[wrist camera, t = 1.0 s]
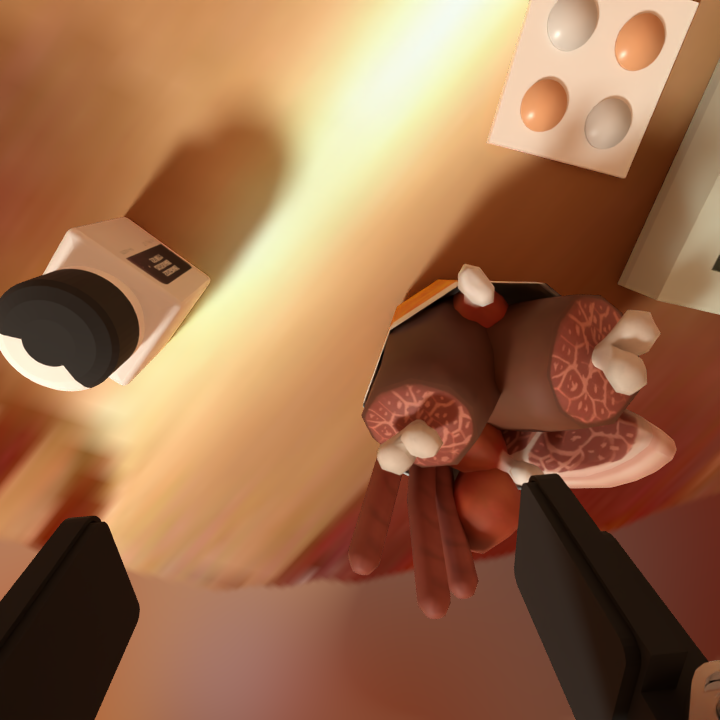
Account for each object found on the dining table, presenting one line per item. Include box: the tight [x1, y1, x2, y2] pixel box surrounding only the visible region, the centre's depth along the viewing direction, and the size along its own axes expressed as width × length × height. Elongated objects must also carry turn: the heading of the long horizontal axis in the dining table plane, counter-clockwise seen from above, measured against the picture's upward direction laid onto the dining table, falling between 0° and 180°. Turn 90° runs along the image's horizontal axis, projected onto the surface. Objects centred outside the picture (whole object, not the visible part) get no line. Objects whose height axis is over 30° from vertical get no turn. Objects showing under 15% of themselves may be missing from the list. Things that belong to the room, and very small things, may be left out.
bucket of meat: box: [348, 264, 676, 619], centre depth 30 cm, size 20×16×20 cm
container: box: [0, 217, 210, 391], centre depth 29 cm, size 8×8×13 cm
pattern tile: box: [486, 0, 699, 178], centre depth 31 cm, size 11×11×1 cm
